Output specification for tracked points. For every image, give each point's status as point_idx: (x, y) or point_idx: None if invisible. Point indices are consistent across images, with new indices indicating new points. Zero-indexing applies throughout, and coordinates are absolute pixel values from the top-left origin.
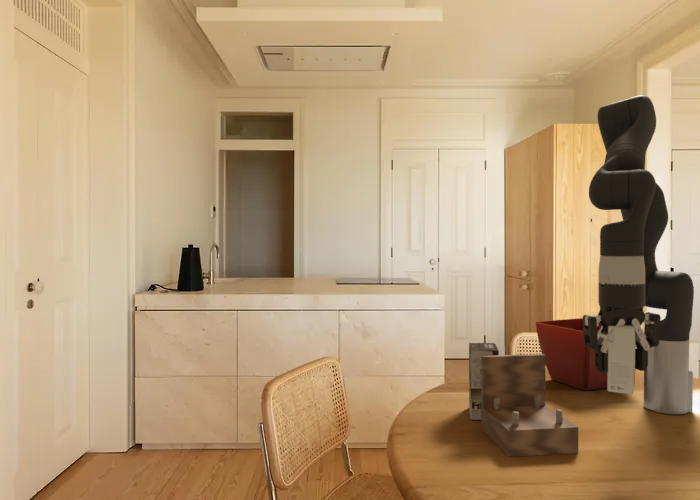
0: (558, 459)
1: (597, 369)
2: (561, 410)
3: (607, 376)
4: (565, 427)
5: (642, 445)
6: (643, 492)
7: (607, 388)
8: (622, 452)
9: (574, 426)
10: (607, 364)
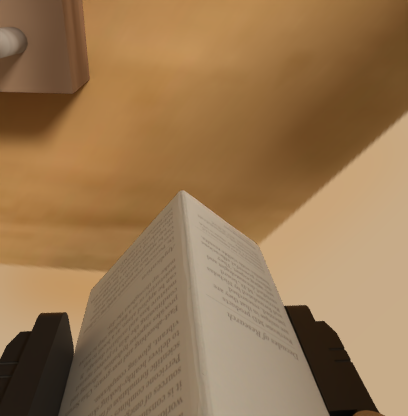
0: (13, 110)
1: (40, 315)
2: (4, 45)
3: (78, 339)
4: (22, 89)
5: (308, 58)
6: None
7: (89, 297)
8: (218, 94)
9: (61, 85)
10: (59, 402)
